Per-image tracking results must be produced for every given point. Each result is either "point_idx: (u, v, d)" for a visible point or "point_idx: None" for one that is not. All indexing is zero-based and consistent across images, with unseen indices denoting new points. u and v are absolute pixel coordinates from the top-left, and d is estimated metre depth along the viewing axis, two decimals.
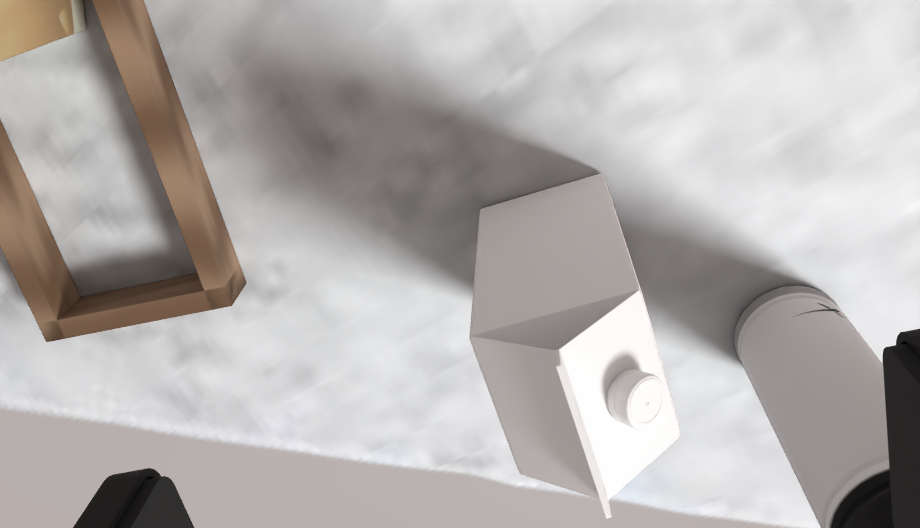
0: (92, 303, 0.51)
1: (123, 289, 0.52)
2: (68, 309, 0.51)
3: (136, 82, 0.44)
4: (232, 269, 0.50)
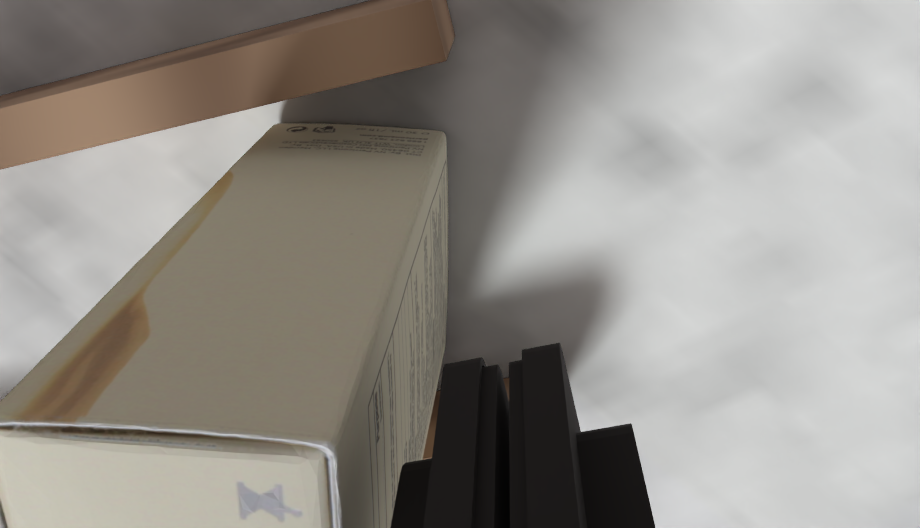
0: None
1: None
2: None
3: None
4: None
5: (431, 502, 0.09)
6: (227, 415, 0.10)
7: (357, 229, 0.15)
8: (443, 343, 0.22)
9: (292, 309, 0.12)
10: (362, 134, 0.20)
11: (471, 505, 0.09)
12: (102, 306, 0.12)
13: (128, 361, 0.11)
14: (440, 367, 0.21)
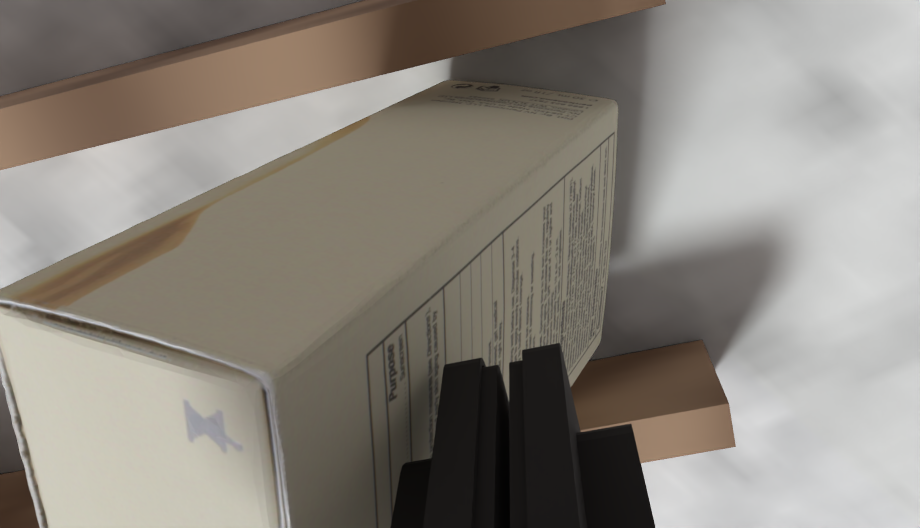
0: None
1: None
2: None
3: None
4: None
5: (431, 502, 0.09)
6: (187, 328, 0.09)
7: (452, 179, 0.14)
8: (594, 335, 0.20)
9: (328, 243, 0.11)
10: (524, 95, 0.18)
11: (472, 505, 0.09)
12: (161, 216, 0.12)
13: (142, 265, 0.11)
14: (584, 360, 0.20)
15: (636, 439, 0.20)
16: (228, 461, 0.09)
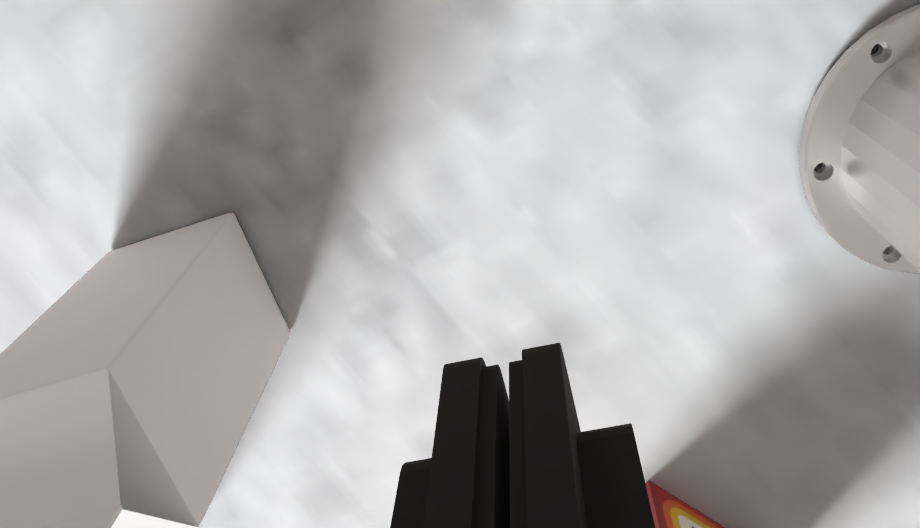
0: None
1: None
2: None
3: None
4: None
5: (431, 502, 0.09)
6: None
7: None
8: None
9: None
10: None
11: (472, 505, 0.09)
12: None
13: None
14: None
15: None
16: None
